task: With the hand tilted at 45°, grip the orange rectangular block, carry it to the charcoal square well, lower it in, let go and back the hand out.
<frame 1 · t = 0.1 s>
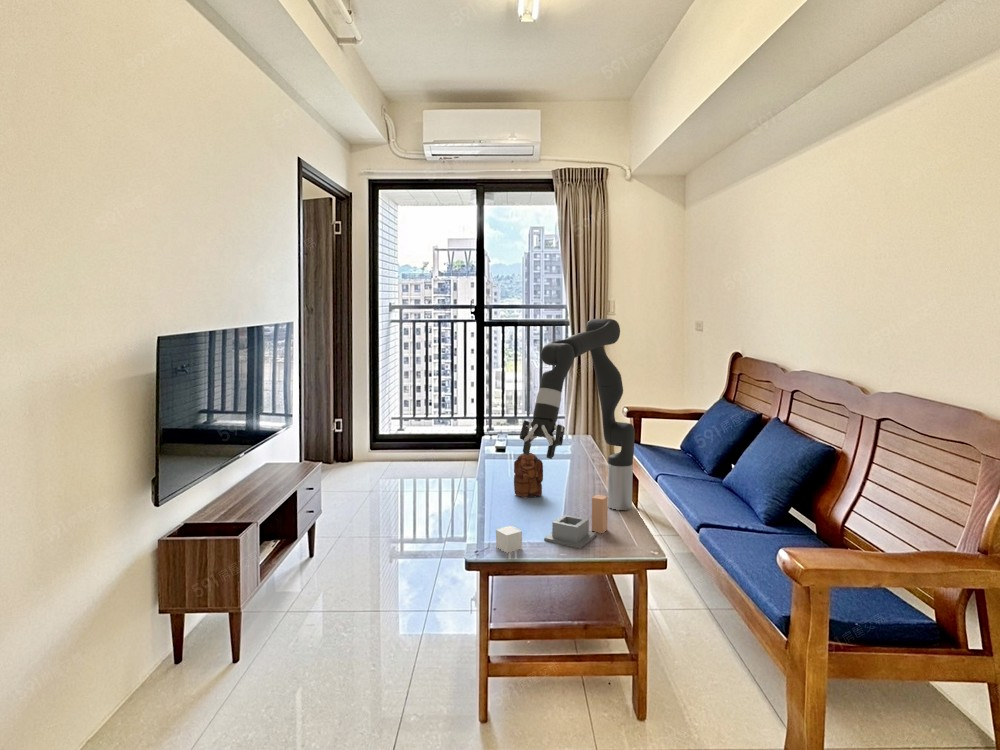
hand: (537, 456, 174), 31 cm above the table, tool tilted 20°, fingers open, 8 cm apart
well: (570, 538, 191), on the table
orange rectangular block: (599, 530, 197), on the table
white cube: (509, 548, 183), on the table
wooden figurine: (528, 496, 238), on the table
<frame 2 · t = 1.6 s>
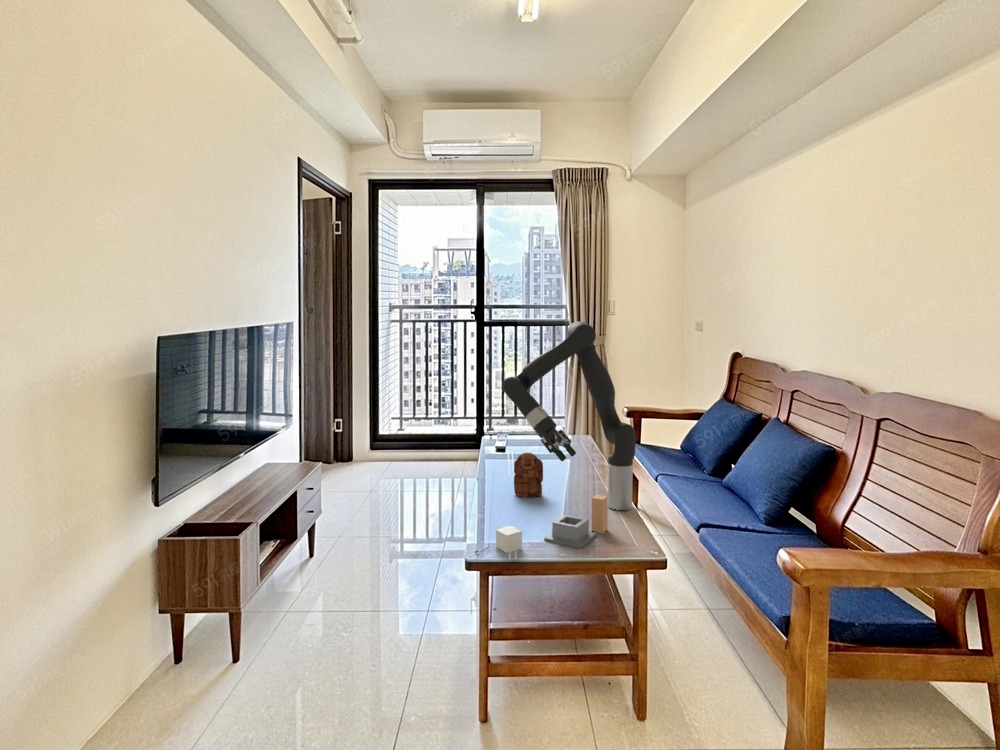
hand: (569, 457, 201), 24 cm above the table, tool tilted 45°, fingers open, 8 cm apart
nothing on the table moved.
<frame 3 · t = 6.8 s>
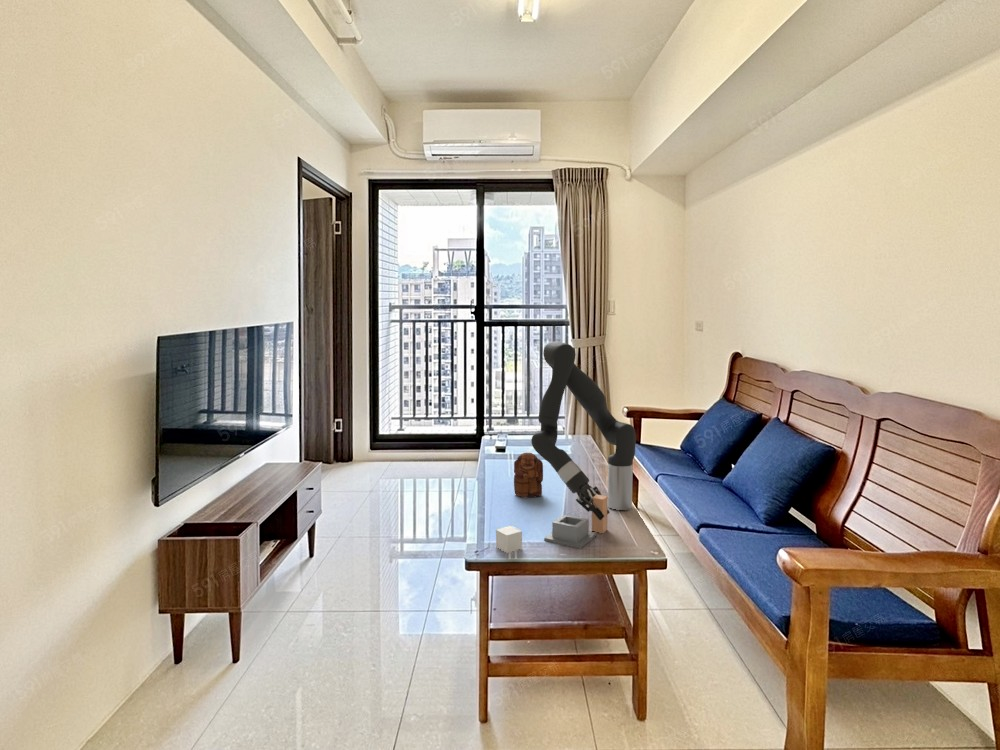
hand: (604, 516, 196), 6 cm above the table, tool tilted 45°, fingers closed on orange rectangular block, 4 cm apart
orange rectangular block: (599, 530, 197), on the table, touching gripper
everything else where it was.
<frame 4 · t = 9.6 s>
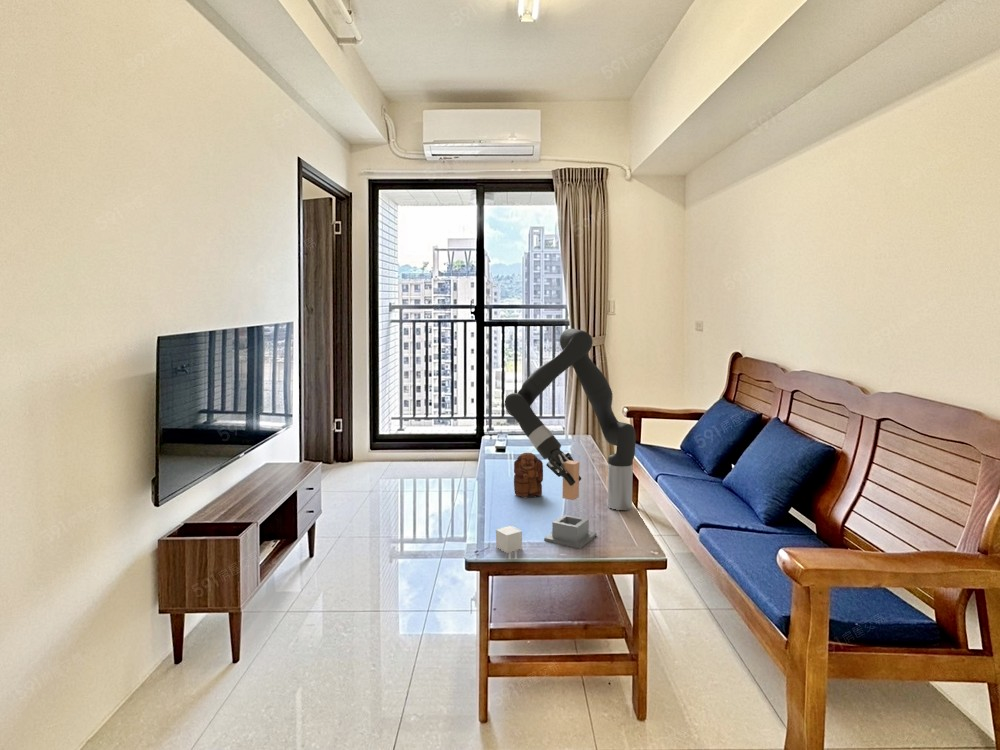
hand: (576, 482, 188), 19 cm above the table, tool tilted 45°, fingers closed on orange rectangular block, 4 cm apart
orange rectangular block: (570, 497, 190), point 14 cm above the table, touching gripper
everything else where it was.
when the fingers open (8 cm above the table, at t = 12.7 s): orange rectangular block drops 1 cm, resting on well.
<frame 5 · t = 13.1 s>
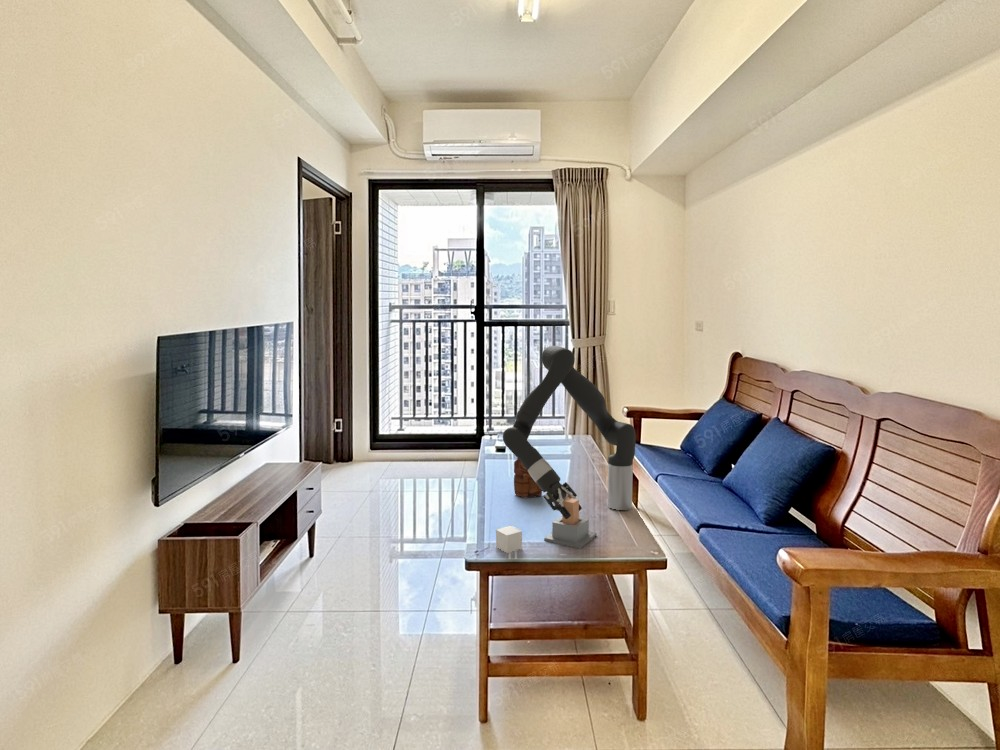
hand: (574, 513, 189), 9 cm above the table, tool tilted 45°, fingers open, 8 cm apart
orange rectangular block: (570, 535, 191), point 1 cm above the table, touching well
everything else where it was.
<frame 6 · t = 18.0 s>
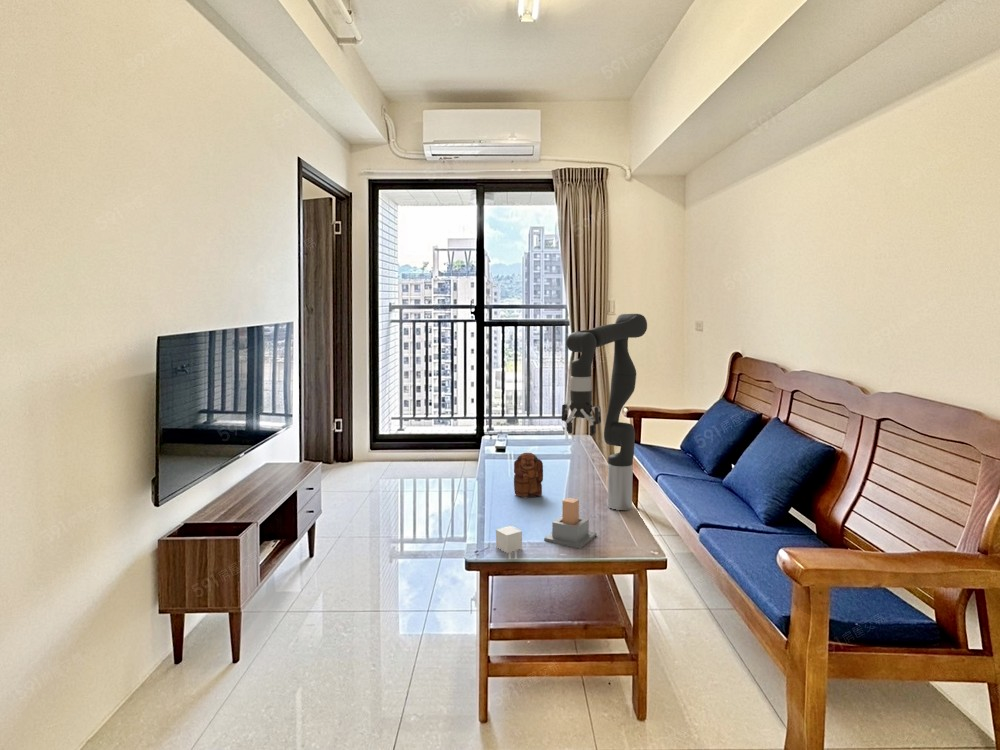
hand: (580, 434, 203), 32 cm above the table, tool pointing down, fingers open, 8 cm apart
nothing on the table moved.
at the end: orange rectangular block 0.1 cm off-centre on the well, point 1.0 cm above the well's base; orange rectangular block tilted 0°; the gripper is holding nothing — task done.
